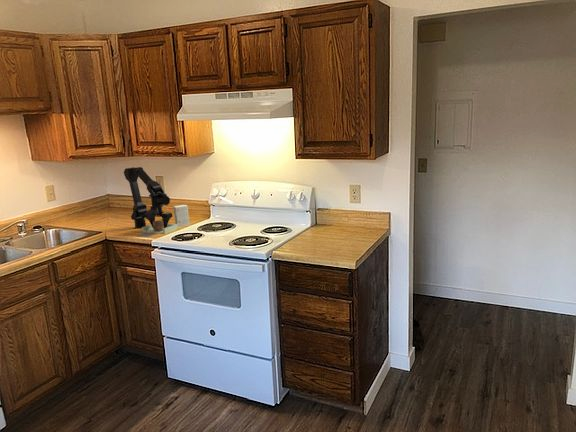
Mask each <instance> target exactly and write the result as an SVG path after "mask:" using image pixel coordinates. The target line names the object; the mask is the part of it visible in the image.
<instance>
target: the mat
mask: <svg viewBox="0 0 576 432" xmlns="http://www.w3.org/2000/svg"><path fill="white" fill-rule="evenodd" d="M158 234H159V233H152V232H142V233H140V234H138V235H136V237H141V238H150V237H153V236H155V235H158Z"/></svg>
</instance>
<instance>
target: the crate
mask: <svg viewBox="0 0 576 432" xmlns="http://www.w3.org/2000/svg"><path fill="white" fill-rule="evenodd" d="M178 229H179V227H178V224H176V223H168V224H167V227H166V228H164V229H163V231H154V228H153V227H152V225H151V224H148V225H147V224H146V226H144V227H142V228H141V232H142V233H158V234H167V233H169V232H174V231H175V230H178Z"/></svg>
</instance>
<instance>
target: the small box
mask: <svg viewBox="0 0 576 432" xmlns="http://www.w3.org/2000/svg"><path fill="white" fill-rule="evenodd" d="M173 213H174V221H175V222H174V224H178V228H179V227H185V226H190V224H191V223H190V215H189V207H188V205H187V204H180V205H174V206H173Z"/></svg>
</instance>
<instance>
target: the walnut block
mask: <svg viewBox="0 0 576 432" xmlns="http://www.w3.org/2000/svg"><path fill="white" fill-rule="evenodd" d="M153 228H154V231H163V229H164V224H163V220H162V219H157V220H155V221H153Z"/></svg>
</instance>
